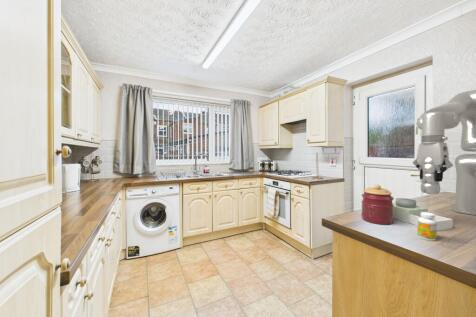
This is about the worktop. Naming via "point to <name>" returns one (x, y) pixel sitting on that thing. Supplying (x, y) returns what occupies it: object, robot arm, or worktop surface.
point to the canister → (377, 205)
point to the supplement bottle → (427, 226)
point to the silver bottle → (429, 177)
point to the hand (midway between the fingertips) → (430, 179)
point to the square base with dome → (416, 214)
